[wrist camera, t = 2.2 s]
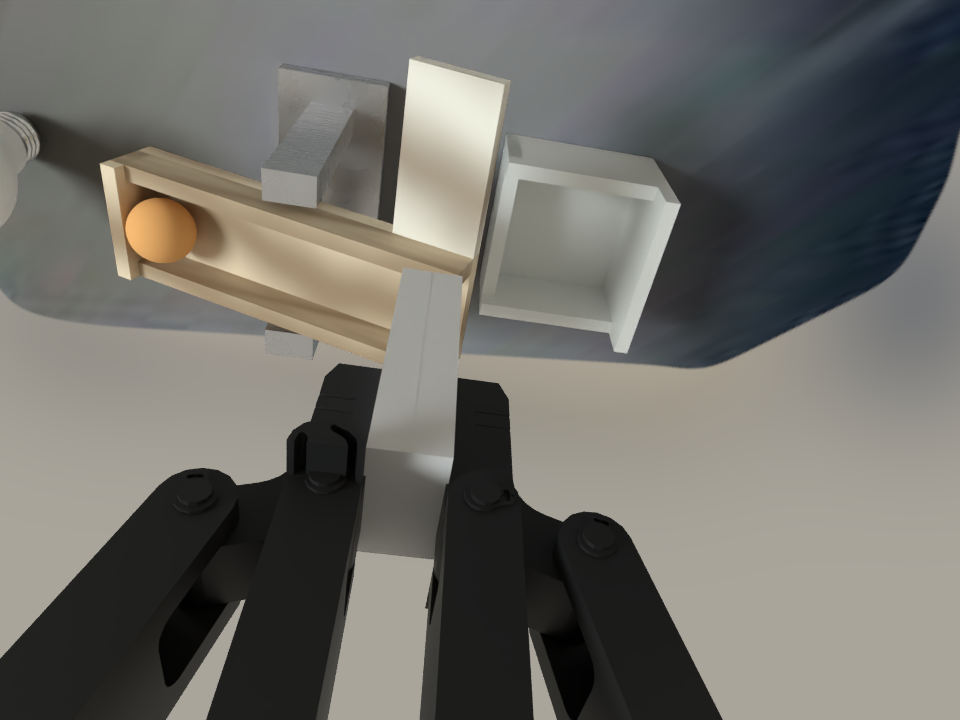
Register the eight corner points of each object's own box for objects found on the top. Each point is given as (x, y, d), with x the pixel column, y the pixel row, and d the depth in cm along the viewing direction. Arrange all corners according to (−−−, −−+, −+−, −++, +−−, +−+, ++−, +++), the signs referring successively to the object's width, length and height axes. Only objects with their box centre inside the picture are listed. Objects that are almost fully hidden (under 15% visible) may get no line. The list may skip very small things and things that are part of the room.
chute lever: (146, -23, 30) (69, -17, 27) (518, 76, 27) (483, 96, 24) (175, 248, 38) (119, 278, 35) (466, 351, 35) (434, 395, 32)
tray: (506, 133, 40) (510, 176, 34) (653, 158, 40) (681, 204, 35) (479, 275, 45) (479, 332, 39) (609, 294, 46) (626, 353, 40)
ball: (157, 181, 34) (105, 200, 31) (208, 200, 33) (159, 221, 31) (164, 238, 36) (115, 260, 33) (212, 257, 35) (166, 282, 33)
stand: (282, 63, 37) (216, 126, 28) (390, 82, 38) (360, 150, 29) (283, 268, 45) (231, 371, 36) (373, 281, 45) (345, 386, 36)
